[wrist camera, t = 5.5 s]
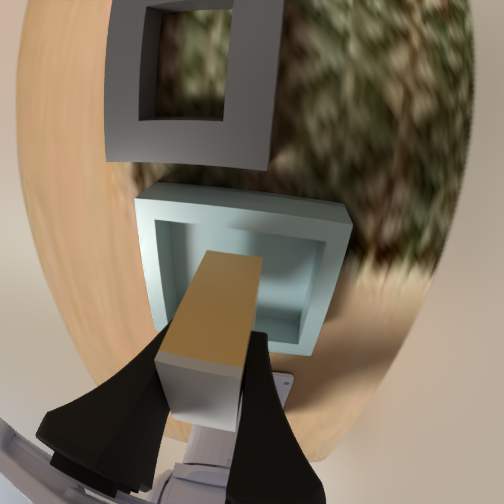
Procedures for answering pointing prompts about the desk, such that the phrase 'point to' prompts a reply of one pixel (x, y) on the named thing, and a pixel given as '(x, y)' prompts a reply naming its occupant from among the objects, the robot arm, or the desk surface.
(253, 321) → the white and tan block
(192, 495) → the robot arm
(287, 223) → the parts tray
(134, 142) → the dark gray rectangular frame
